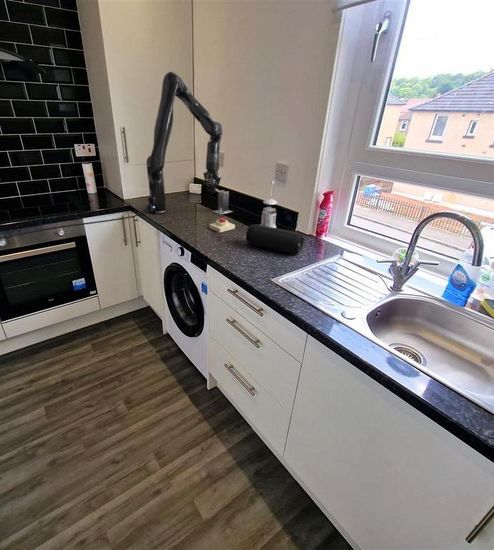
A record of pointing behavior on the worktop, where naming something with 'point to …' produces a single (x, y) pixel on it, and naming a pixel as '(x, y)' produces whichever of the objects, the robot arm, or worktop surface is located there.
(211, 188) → the lever
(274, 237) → the portable speaker
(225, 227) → the control block
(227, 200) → the bracket
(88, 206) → the worktop surface
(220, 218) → the button
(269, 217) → the french press
